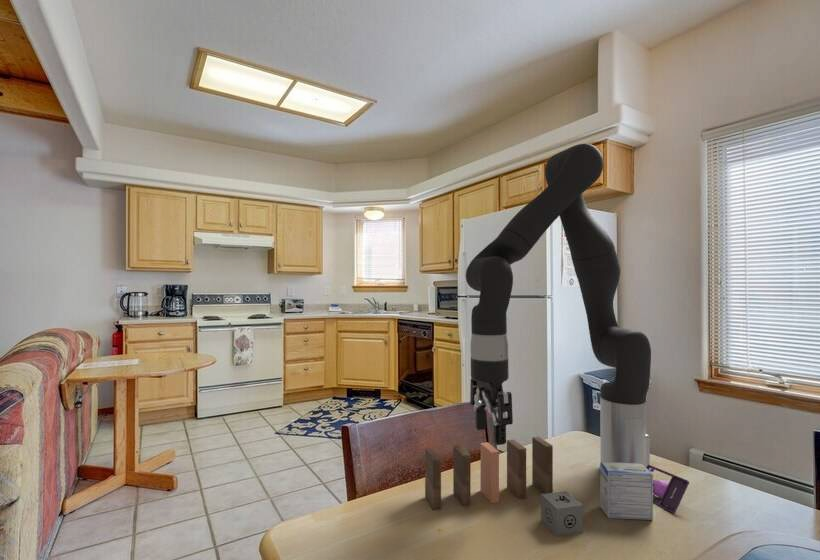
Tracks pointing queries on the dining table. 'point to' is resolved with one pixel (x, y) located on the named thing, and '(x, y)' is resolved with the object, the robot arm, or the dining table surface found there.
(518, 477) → the domino
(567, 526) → the dice cube
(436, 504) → the domino
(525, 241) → the robot arm
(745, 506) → the dining table surface
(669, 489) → the purple window box
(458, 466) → the domino
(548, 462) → the domino
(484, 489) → the domino
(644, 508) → the medicine box
